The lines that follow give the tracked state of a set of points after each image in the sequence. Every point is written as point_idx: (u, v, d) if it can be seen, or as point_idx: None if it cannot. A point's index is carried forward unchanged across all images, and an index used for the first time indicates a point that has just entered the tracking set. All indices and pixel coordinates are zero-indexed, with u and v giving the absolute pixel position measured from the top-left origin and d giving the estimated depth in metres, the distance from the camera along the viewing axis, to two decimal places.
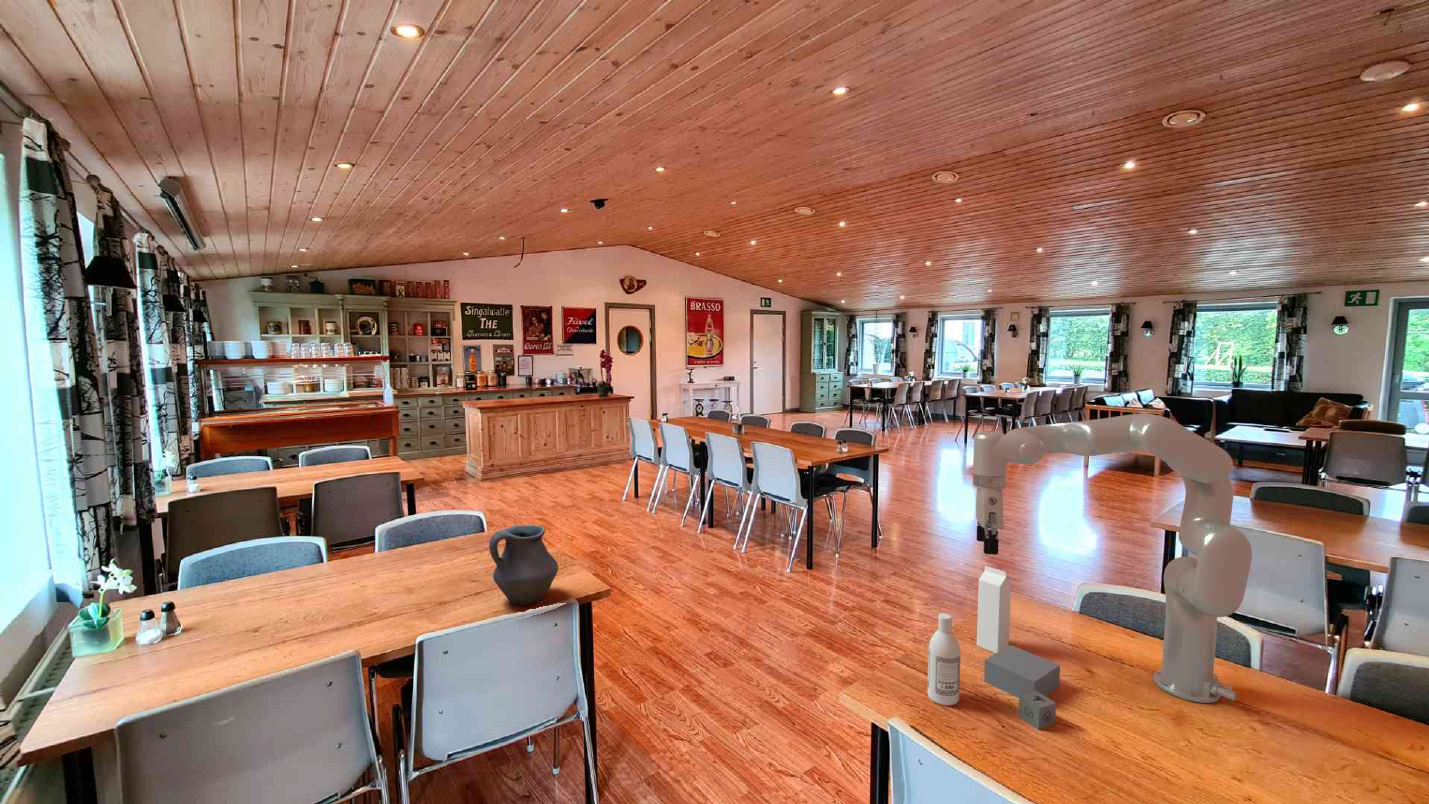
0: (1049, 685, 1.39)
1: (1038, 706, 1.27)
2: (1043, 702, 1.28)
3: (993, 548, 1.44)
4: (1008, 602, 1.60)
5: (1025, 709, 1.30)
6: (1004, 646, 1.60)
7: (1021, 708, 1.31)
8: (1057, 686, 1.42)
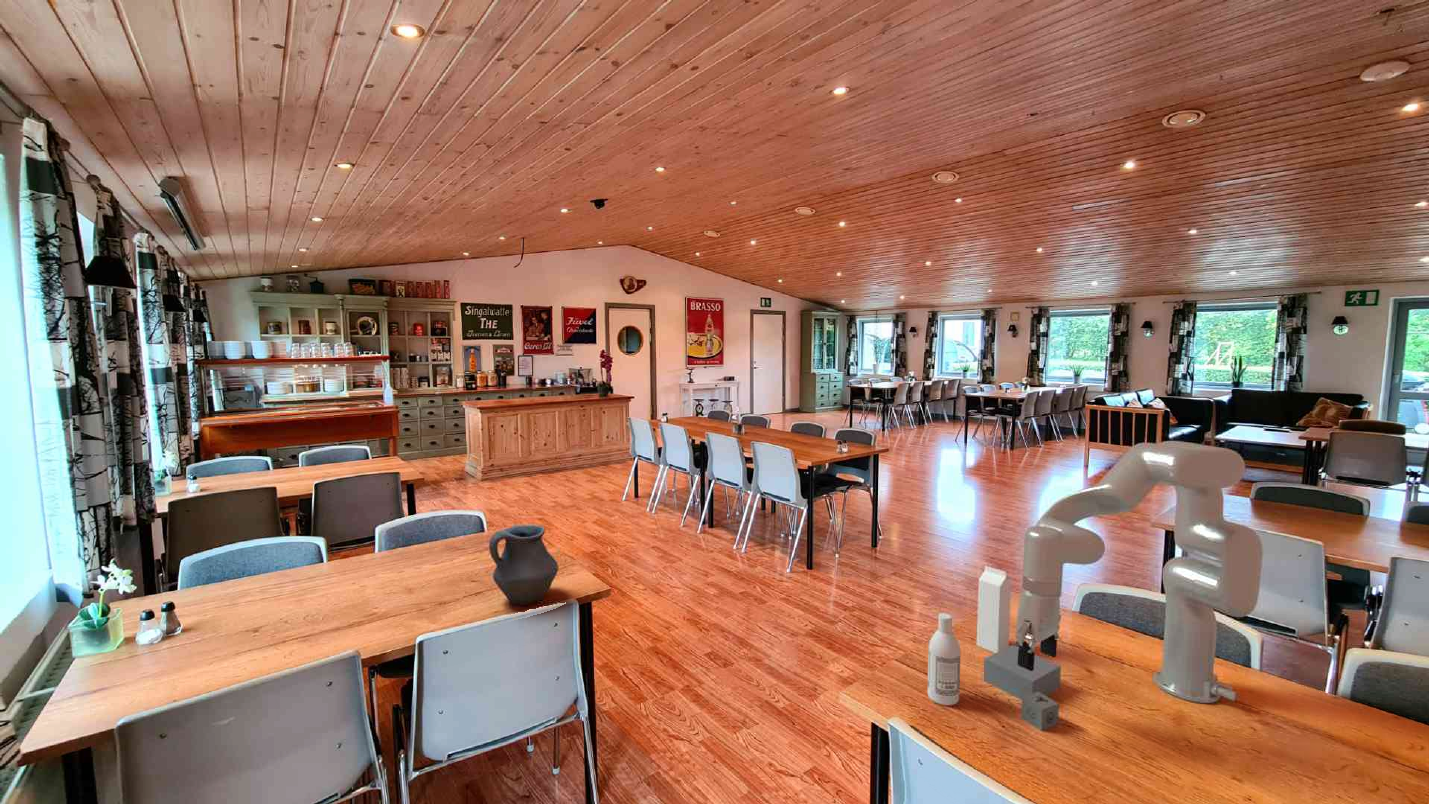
0: (1048, 685, 1.39)
1: (1041, 707, 1.27)
2: (1046, 703, 1.28)
3: None
4: (1008, 602, 1.60)
5: (1028, 710, 1.29)
6: (1004, 646, 1.60)
7: (1024, 709, 1.30)
8: (1057, 687, 1.41)
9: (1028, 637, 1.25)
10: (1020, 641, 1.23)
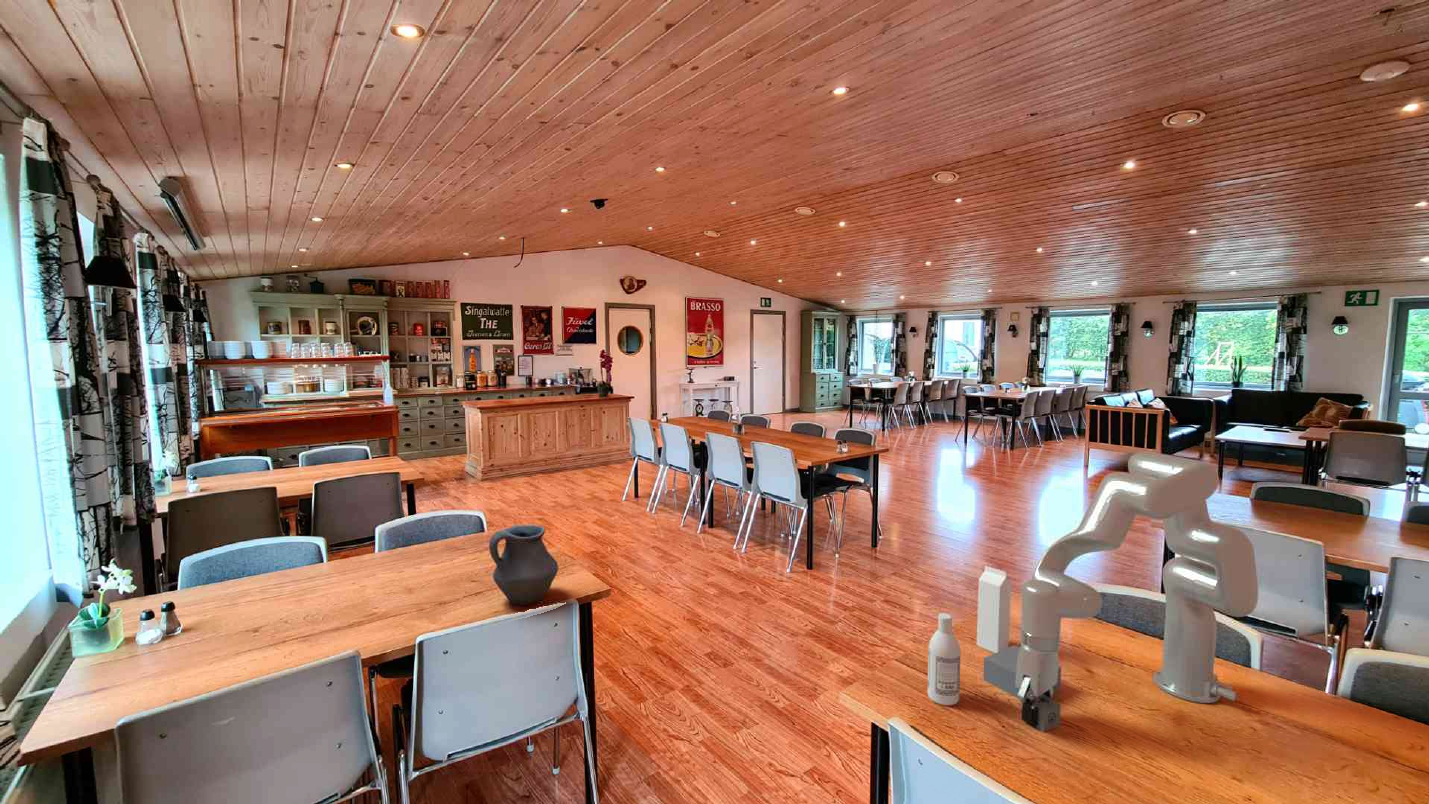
0: None
1: (1043, 707, 1.26)
2: (1048, 703, 1.28)
3: None
4: (1008, 602, 1.60)
5: None
6: (1004, 646, 1.60)
7: None
8: (1058, 688, 1.41)
9: (1029, 693, 1.27)
10: (1023, 701, 1.26)
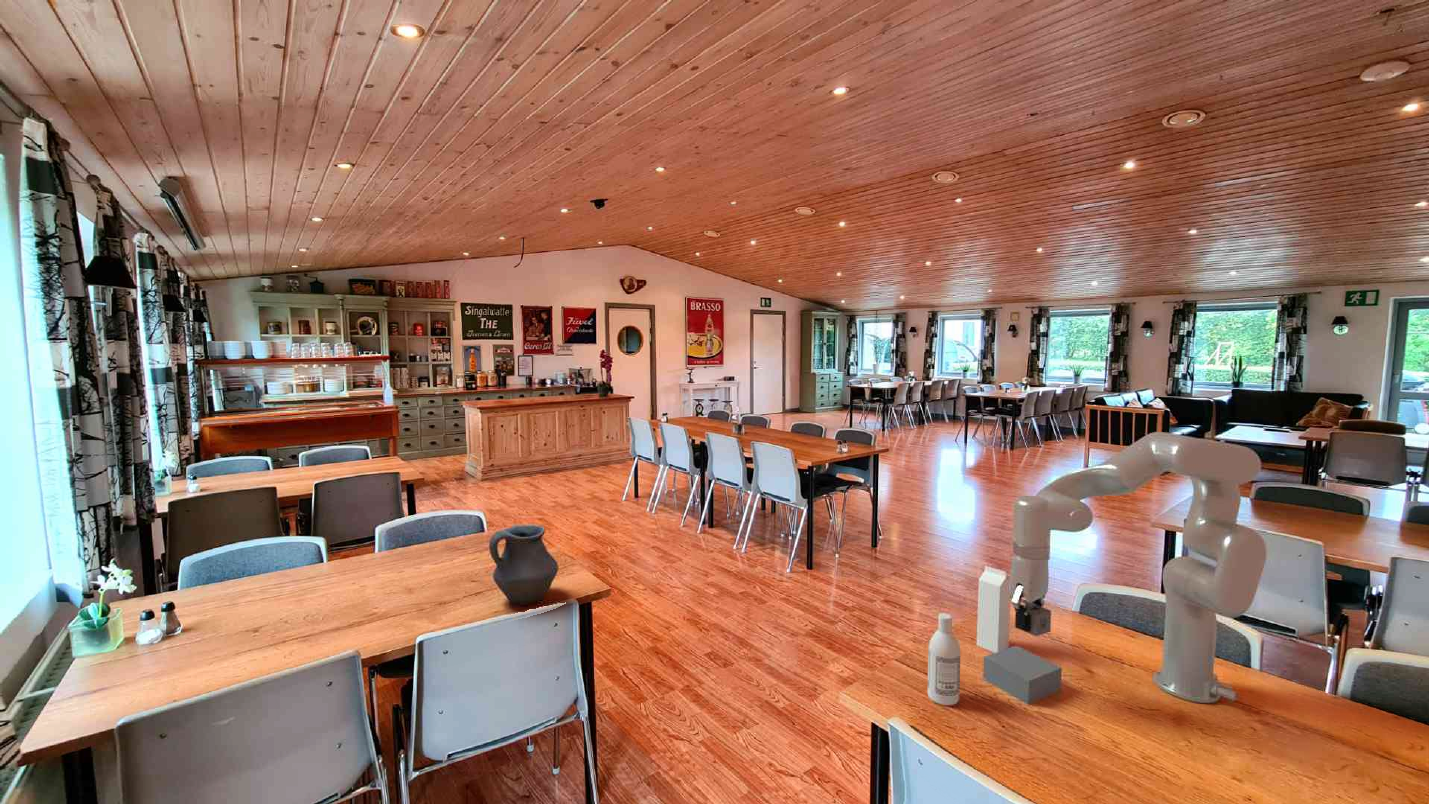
0: (1047, 686, 1.39)
1: (1035, 613, 1.35)
2: (1039, 610, 1.36)
3: None
4: (1008, 602, 1.60)
5: None
6: (1004, 646, 1.60)
7: None
8: (1058, 689, 1.41)
9: (1022, 601, 1.36)
10: (1016, 607, 1.34)
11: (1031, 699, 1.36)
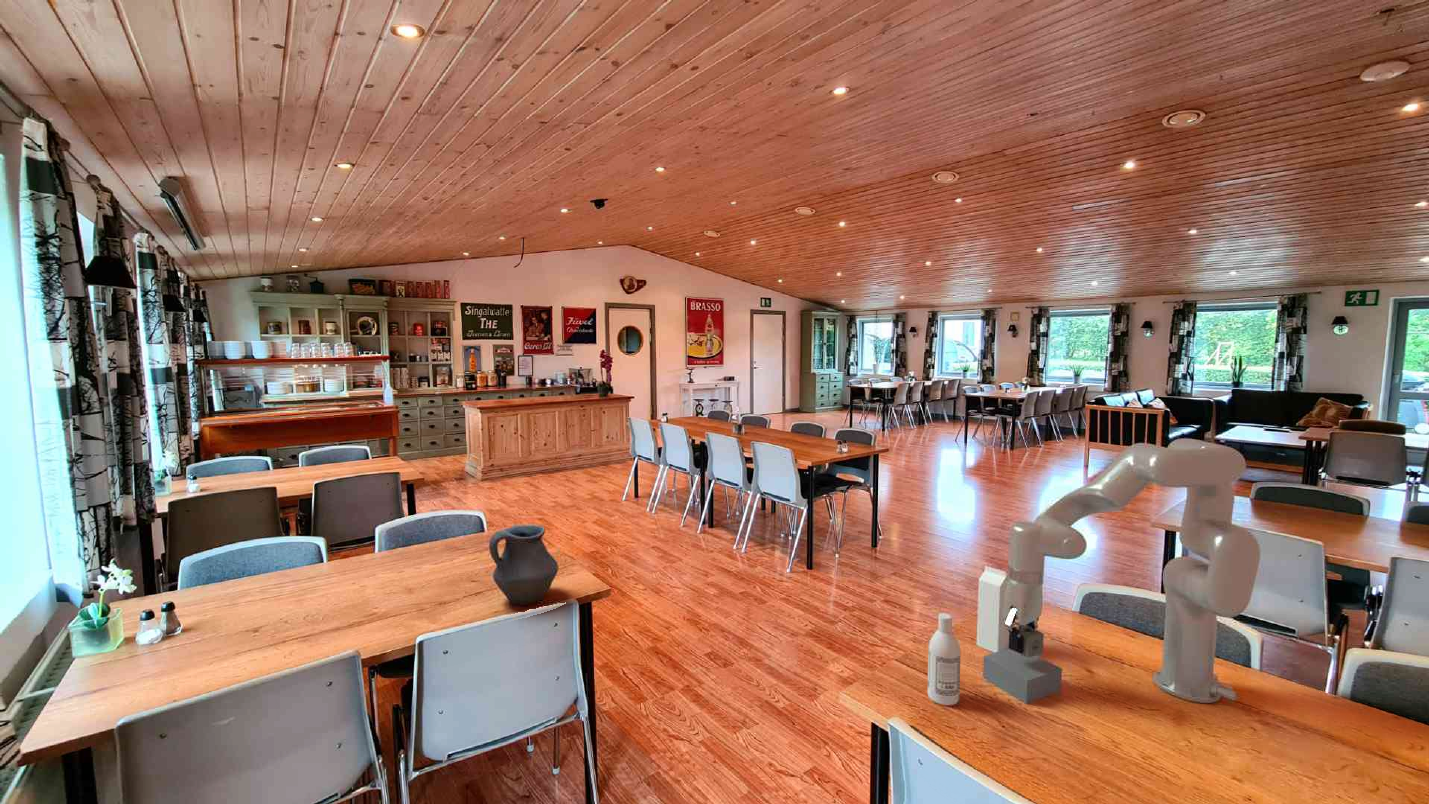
0: (1047, 686, 1.39)
1: (1027, 636, 1.39)
2: (1032, 633, 1.41)
3: None
4: None
5: None
6: (1004, 646, 1.60)
7: None
8: (1058, 689, 1.40)
9: (1016, 623, 1.40)
10: (1010, 629, 1.38)
11: (1030, 699, 1.36)
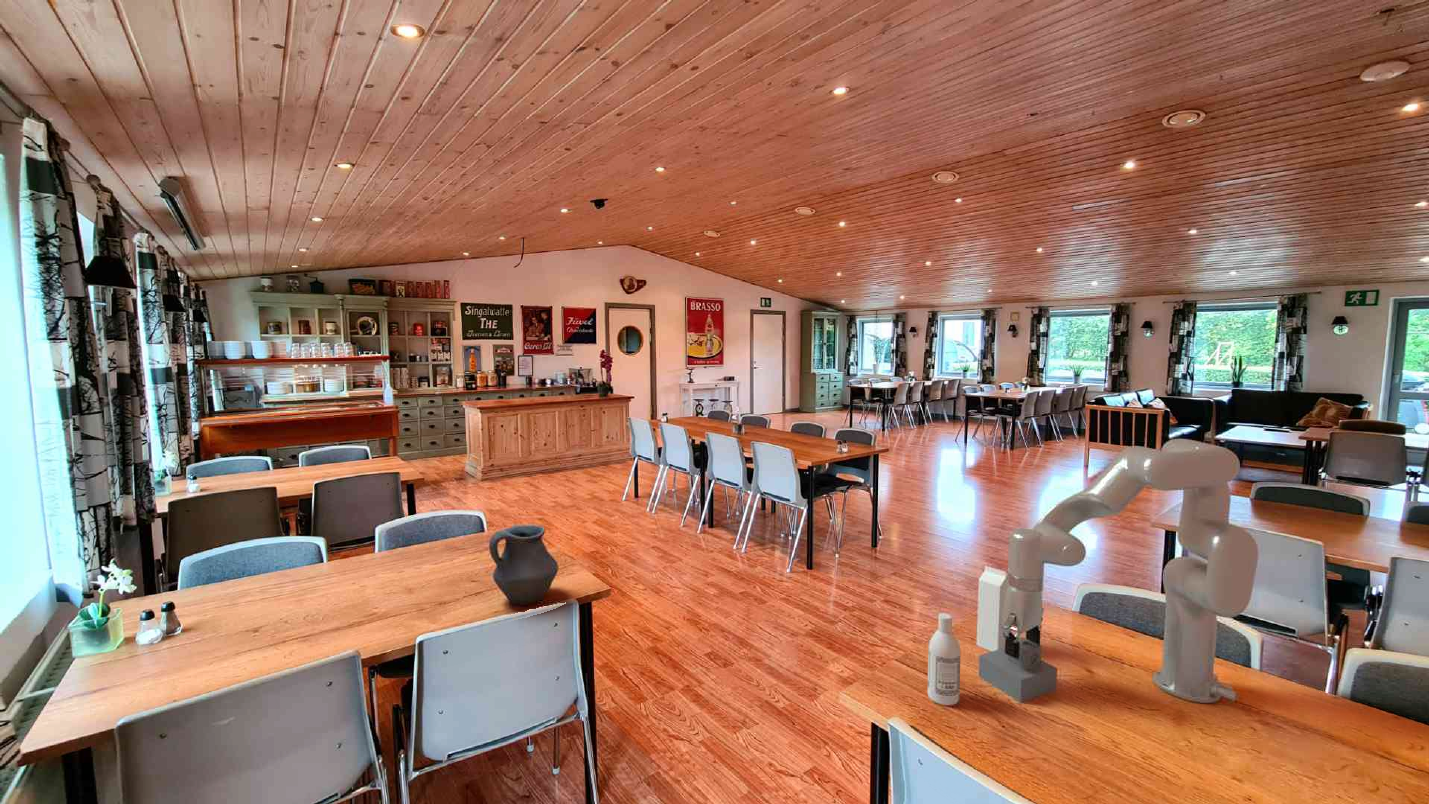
0: (1042, 686, 1.39)
1: (1026, 649, 1.40)
2: (1030, 646, 1.41)
3: None
4: None
5: None
6: (1004, 646, 1.60)
7: None
8: (1054, 689, 1.41)
9: (1014, 628, 1.40)
10: (1006, 632, 1.37)
11: (1024, 698, 1.37)
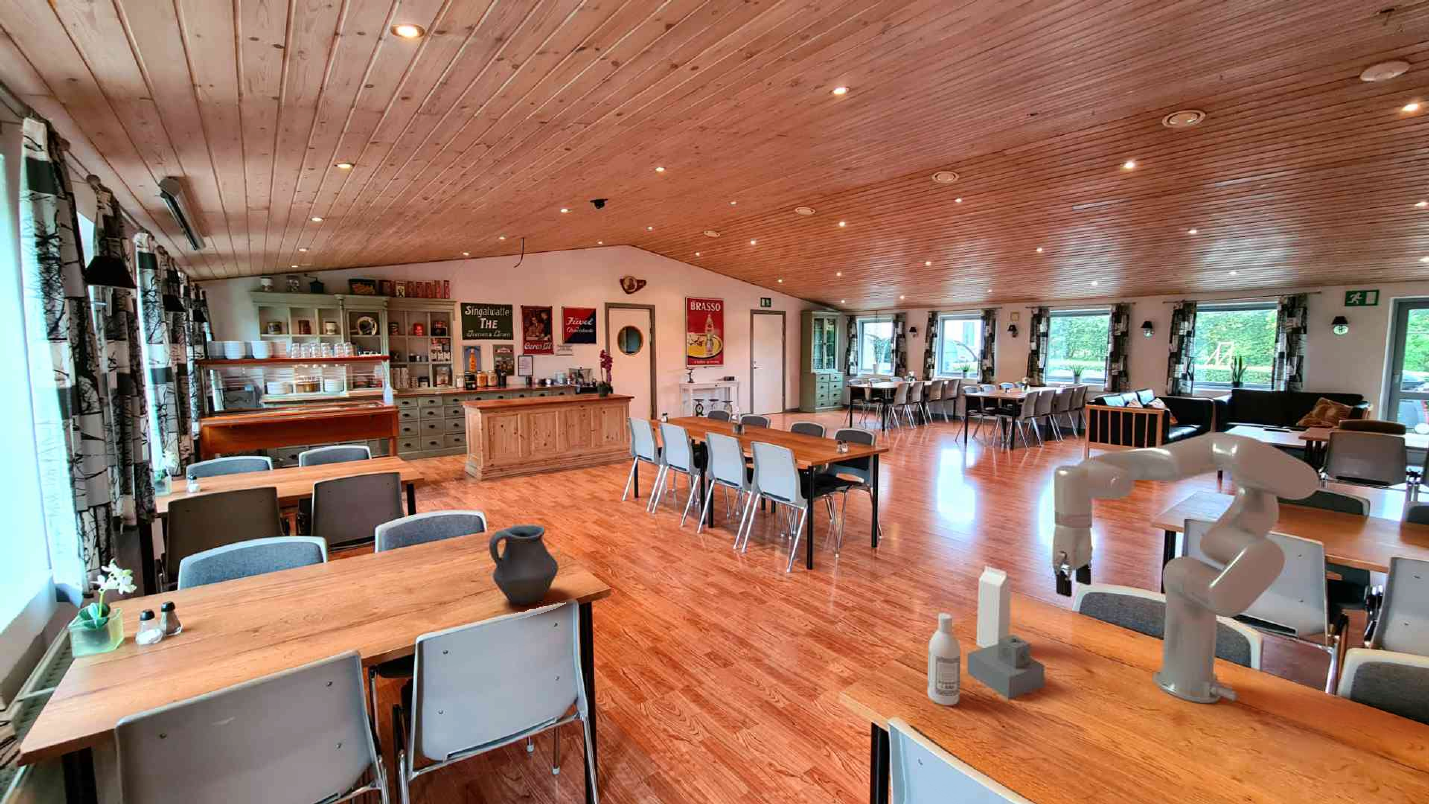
0: (1029, 683, 1.41)
1: (1015, 646, 1.41)
2: (1019, 643, 1.43)
3: None
4: (1008, 602, 1.60)
5: (1003, 650, 1.44)
6: None
7: (1000, 650, 1.45)
8: (1041, 686, 1.42)
9: (1064, 567, 1.37)
10: (1057, 570, 1.35)
11: (1012, 695, 1.38)
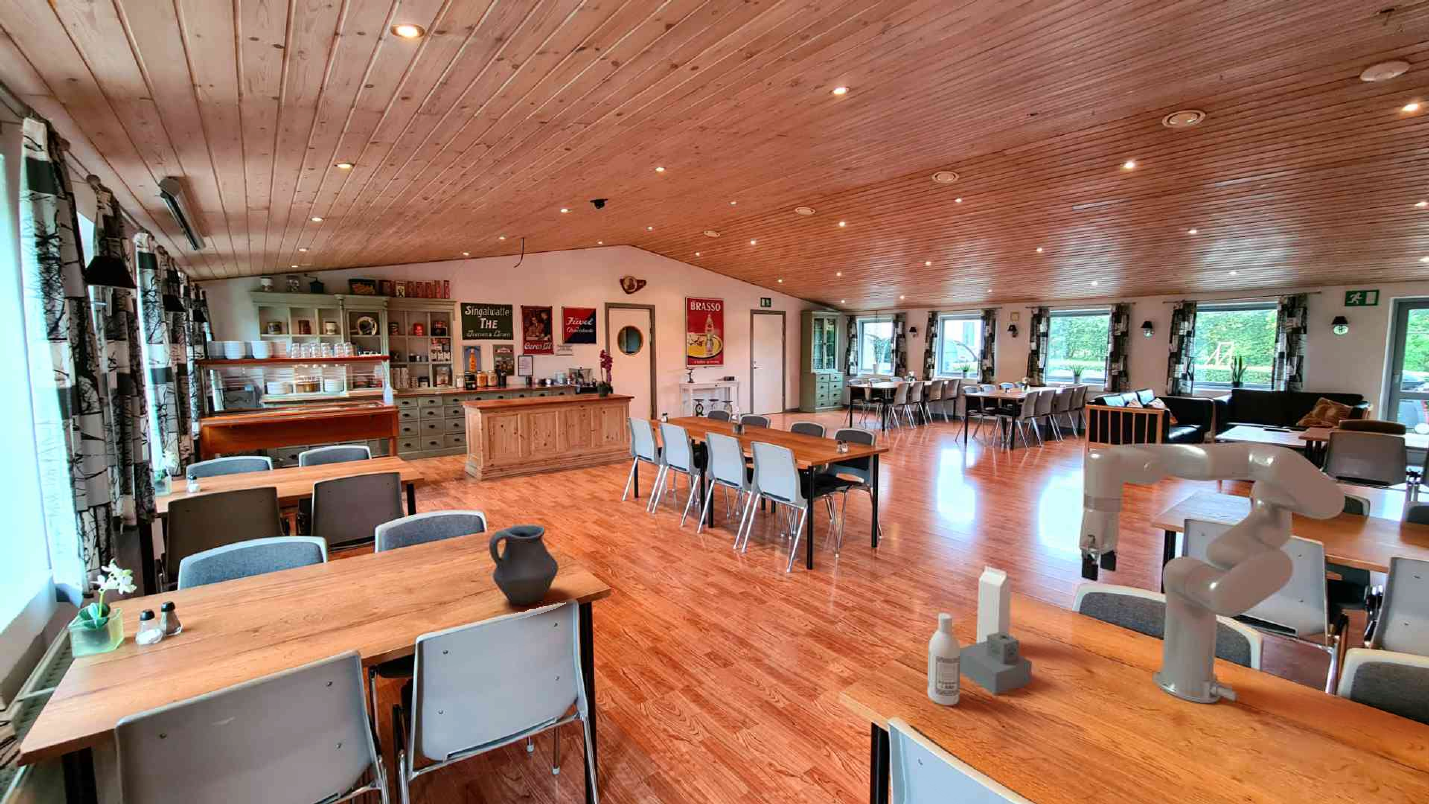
0: (1016, 679, 1.42)
1: (1003, 642, 1.43)
2: (1007, 639, 1.44)
3: None
4: (1008, 602, 1.60)
5: (992, 646, 1.46)
6: None
7: (988, 646, 1.47)
8: (1028, 682, 1.44)
9: (1091, 550, 1.36)
10: (1085, 553, 1.34)
11: (998, 691, 1.40)
